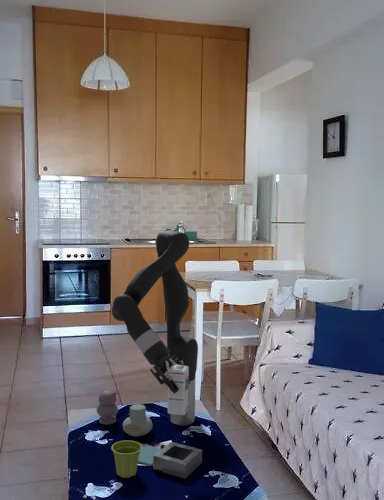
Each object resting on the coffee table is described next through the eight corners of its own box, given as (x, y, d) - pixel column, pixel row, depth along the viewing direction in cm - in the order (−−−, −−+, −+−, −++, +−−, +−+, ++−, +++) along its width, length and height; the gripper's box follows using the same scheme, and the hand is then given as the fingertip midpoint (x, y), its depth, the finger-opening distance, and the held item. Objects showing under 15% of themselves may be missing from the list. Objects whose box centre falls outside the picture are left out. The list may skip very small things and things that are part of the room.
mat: (141, 445, 189) (141, 443, 189) (168, 452, 184) (168, 450, 184) (122, 458, 179) (122, 456, 179) (150, 466, 174) (150, 464, 174)
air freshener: (119, 435, 196) (119, 409, 195) (128, 426, 204) (128, 401, 203) (147, 440, 193) (147, 413, 192) (155, 430, 201) (155, 404, 200)
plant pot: (114, 465, 174) (114, 439, 174) (143, 466, 174) (143, 440, 173) (108, 480, 165) (108, 453, 164) (139, 481, 165) (139, 454, 164)
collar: (171, 454, 183) (171, 441, 182) (202, 462, 177) (202, 449, 177) (153, 469, 172) (153, 455, 172) (185, 478, 167) (185, 464, 167)
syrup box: (184, 415, 170) (185, 371, 169) (166, 413, 171) (167, 369, 170) (188, 408, 176) (189, 365, 174) (171, 406, 177) (171, 363, 175)
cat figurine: (92, 421, 208) (92, 391, 207) (106, 415, 214) (106, 385, 213) (108, 427, 203) (108, 396, 202) (122, 420, 210) (122, 390, 208)
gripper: (147, 345, 168) (179, 388, 164) (170, 335, 181) (200, 375, 177) (132, 359, 171) (163, 401, 167) (156, 348, 184) (185, 387, 180)
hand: (182, 388), depth 172 cm, fingers closed on syrup box, 7 cm apart
